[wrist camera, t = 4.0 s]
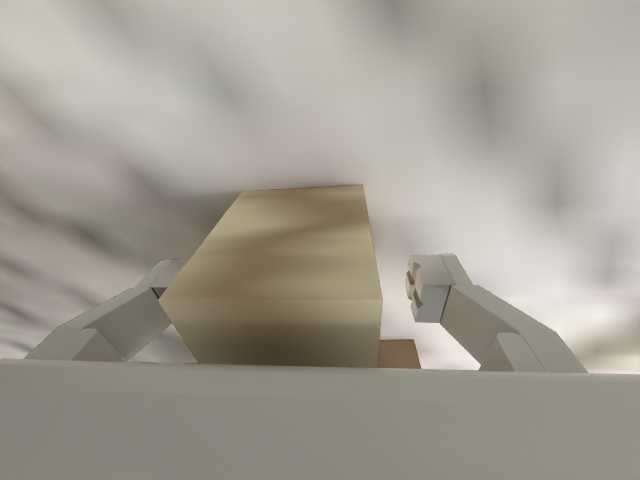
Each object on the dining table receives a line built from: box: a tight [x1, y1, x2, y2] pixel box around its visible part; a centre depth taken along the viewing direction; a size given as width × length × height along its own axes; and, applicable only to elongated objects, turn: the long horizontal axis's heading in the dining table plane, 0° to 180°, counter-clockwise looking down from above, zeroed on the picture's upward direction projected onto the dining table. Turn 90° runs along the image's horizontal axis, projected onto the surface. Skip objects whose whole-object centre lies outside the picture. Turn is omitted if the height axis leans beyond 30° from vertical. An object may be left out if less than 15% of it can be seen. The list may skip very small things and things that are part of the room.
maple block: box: [158, 185, 383, 368], centre depth 9 cm, size 5×5×6 cm
